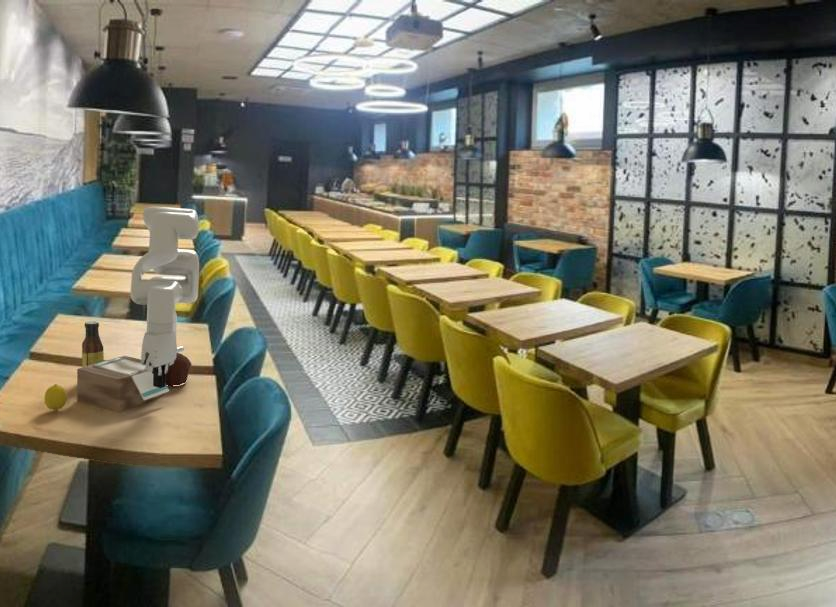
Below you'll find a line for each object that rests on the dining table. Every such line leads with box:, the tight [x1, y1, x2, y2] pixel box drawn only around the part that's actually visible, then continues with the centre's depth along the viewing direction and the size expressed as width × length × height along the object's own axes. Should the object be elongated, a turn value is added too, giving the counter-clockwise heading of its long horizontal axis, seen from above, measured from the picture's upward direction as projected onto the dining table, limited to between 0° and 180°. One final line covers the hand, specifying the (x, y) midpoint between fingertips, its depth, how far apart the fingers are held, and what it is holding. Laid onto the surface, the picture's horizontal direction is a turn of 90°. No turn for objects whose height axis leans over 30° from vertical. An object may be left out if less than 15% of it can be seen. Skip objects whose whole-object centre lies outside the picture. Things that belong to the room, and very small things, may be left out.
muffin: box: [166, 352, 192, 386], centre depth 212 cm, size 12×11×10 cm
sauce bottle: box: [81, 320, 105, 368], centre depth 205 cm, size 7×6×20 cm
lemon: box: [44, 384, 68, 412], centre depth 180 cm, size 6×6×8 cm
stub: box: [132, 371, 170, 400], centre depth 190 cm, size 10×8×1 cm
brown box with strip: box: [76, 355, 165, 413], centre depth 194 cm, size 18×16×11 cm
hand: (159, 386), depth 189 cm, fingers closed
